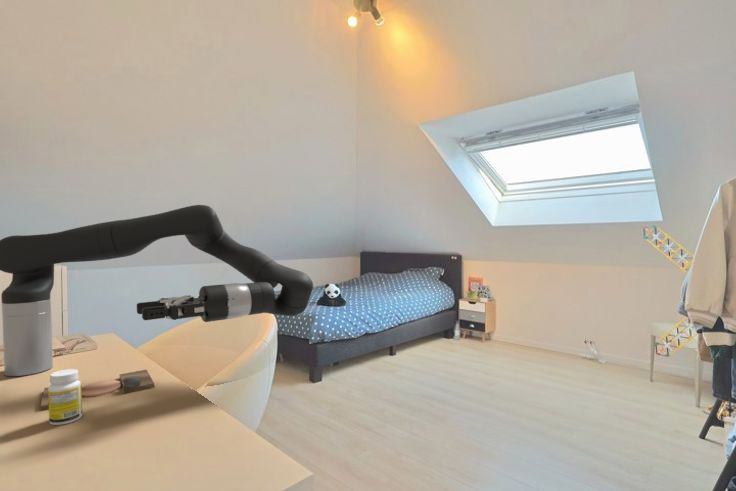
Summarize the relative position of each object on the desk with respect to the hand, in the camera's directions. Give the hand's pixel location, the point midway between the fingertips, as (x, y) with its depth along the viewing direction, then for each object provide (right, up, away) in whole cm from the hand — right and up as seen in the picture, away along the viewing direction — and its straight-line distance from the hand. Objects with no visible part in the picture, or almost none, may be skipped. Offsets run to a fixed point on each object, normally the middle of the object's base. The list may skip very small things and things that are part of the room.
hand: (139, 311), depth 79 cm
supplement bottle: (-9, -18, -7) cm, 21 cm away
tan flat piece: (-13, -18, +8) cm, 23 cm away
